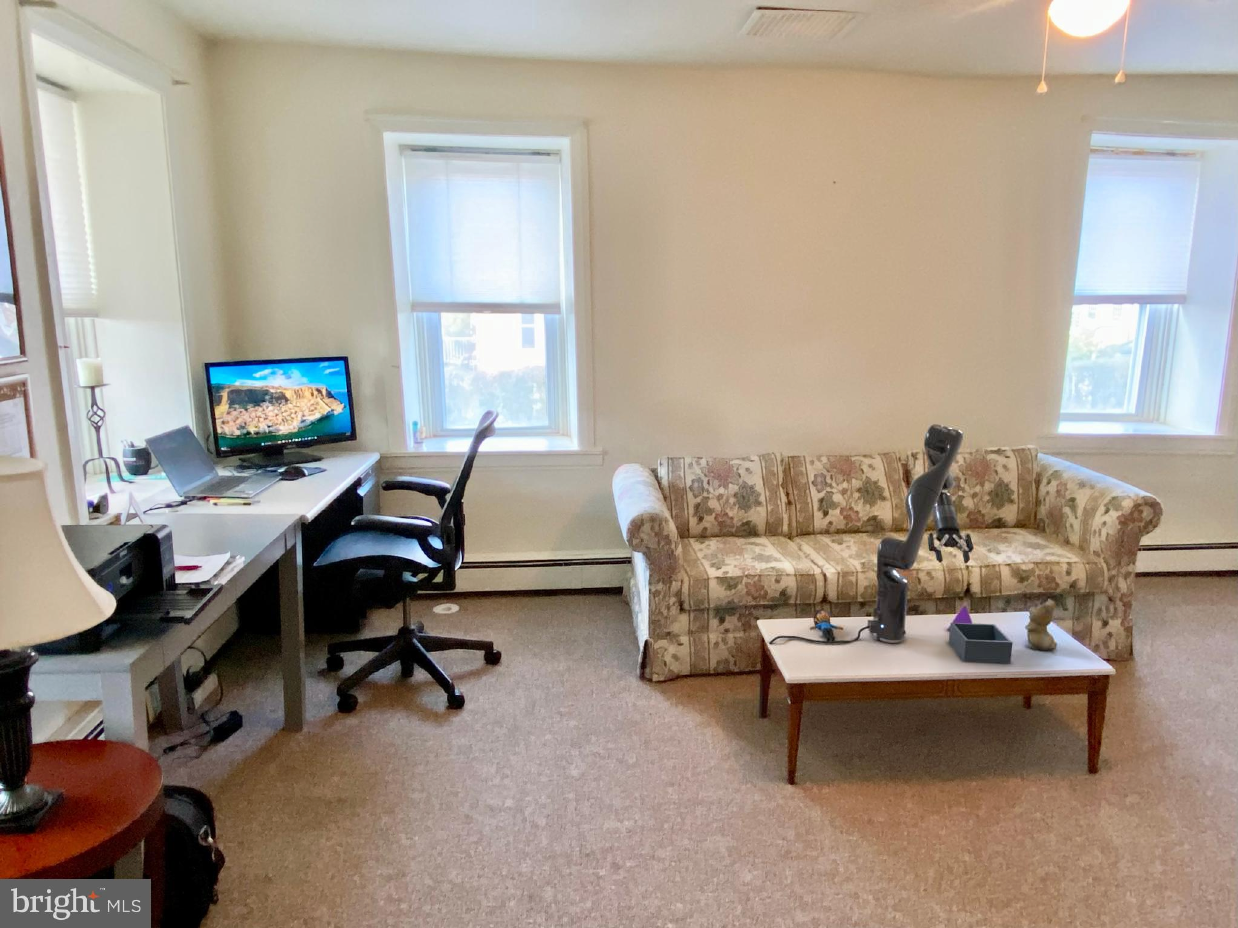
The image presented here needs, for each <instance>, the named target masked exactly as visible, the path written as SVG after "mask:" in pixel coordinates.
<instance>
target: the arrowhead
mask: <svg viewBox="0 0 1238 928" xmlns="http://www.w3.org/2000/svg"><path fill="white" fill-rule="evenodd" d="M968 609H969V608H968V607H967V605H966V604H965V605H962V607H961V608H960V610H959V612H958V613H957V615H956V616H955V618H953V620H952V622H951V623H973V620H972V618H971V616H970V612H969V610H968ZM946 630H947V631H950V625H949V626H948V627H947V629H946Z"/></svg>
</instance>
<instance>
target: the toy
mask: <svg viewBox="0 0 1238 928" xmlns="http://www.w3.org/2000/svg"><path fill="white" fill-rule="evenodd" d="M812 619H813V624H814V625H813V626H809V631H813V630H817V629H818V630H821V634H822V636H823V637H824V638H825V641H836V636H835V634H834V630H833V629H835V630H838V631H844V627H843V626H840V625H834V624H832V623H831V616H830V614H829V612H828V611H827V610H825V609H816V610H815V611H814V613H813V618H812ZM830 639H831V640H830Z"/></svg>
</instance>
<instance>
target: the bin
mask: <svg viewBox="0 0 1238 928" xmlns="http://www.w3.org/2000/svg"><path fill="white" fill-rule="evenodd" d="M949 626H950V630H949V633H948V634H949V635H948V643H949V645H950V646H951V647H952V649H953V650H954V651H955V652H956V654H957V655H958V656H959V657H960V659H961V660H962V661H963V662H969V663H970V662H972V663H993V664H1011V662H1012V653H1013V641H1012V640H1011V639H1010V638H1009V637H1008V636H1007V635H1006V634H1005V633H1004V632H1003V631H1002V630H1001V629H1000V628H999V627H998V626H997V625H996V624H995V623H973V622H972V623H952V622H950V623H949Z"/></svg>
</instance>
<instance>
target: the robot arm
mask: <svg viewBox="0 0 1238 928" xmlns="http://www.w3.org/2000/svg"><path fill="white" fill-rule="evenodd" d="M963 440H964V433H963V432H962V431H961V430H959V429H956V428H954V427H953V428H952V427H949V426H946V425H941V424H931V425H930V426H929V427H928V429H927V431H926V433H925V435H924V439H923V448H924V453H925V455H926V458H927V462H928V466H927V471H925V472H923V473H922V474H920V475H919V476H917V477H916V478H915V479H914V480H913V481H912V482H911V484H910V486H909V488H908V491H907V493H906V495H905V499H904V507H905V508H904V509H905V512H906V516H907V519H908V526H909V528H908V534H907V536H906V539H905V540H904V539H900V538H896V537H893V536H892V537H891V536H884V537H883V538H882V539H881V540H880V541H879V544H878V546H877V553H876V580H877V586H876V587H877V590H876V602H875V605H873V615H872V616H873V617H872V619H868V620H867V625H866V626H864V627H862V628H860V629H859V630H858V632H857V636H856V637H855V638H854V639H852V640H841V639H840V640H835V641H832V640H829V641H827V640H819V639H811V638H807V637H804V636H803V637H802V636H798V635H778V636H775V637H774V638H772V639H771V640H770V641H769V642H768V644H769V645H772V644H773V643H774V642H775V641H777V640H778V639H796V640H802V641H807V642H810V643H816V644H817V643H818V644H819V643H820V644H849V643H853V642H856V641H858V640H859V639H860V638H861V633H862V632H863V631H865V630H868V632H869V633H870V634H872V636H873V638H874V639H875V641H878V642H882V643H887V644H900V643H903V642H904V641H905V636H906V635H907V632H906V619H907V608H908V607H907V606H908V594H909V580H908V579H907V578H906V577H905V576H904V575H902V574H901V573H900V572H898V570H902V571H910V570H911V569H912V568H913V567H914V565H915V563H916V560H917V558H918V555H919V552H920V548H921V544H922V542H923V537H924V535H925V532H926V529H927V527H928V524H929V522H930V519H931V516H932V518H933V524H934V528H935V533H936V534H934V533H932V532H930V533H929V534H928V536H927V546H928V551H929V552H934V554H935V558H936V561H937V562H938V563H942V562H943V560H944V559H943V554H942V550H941V549H942V548H943V547H945V548H956V549H957V550H958V551H960V552H961V553H962V558H963V563H964V564H968V563H969V562H970V560H971V558H970V557H971V556H970V553H972V552H973V551H974V548H975V547H974V544H973V541H972V537H971V534H970V533H967V534H966V535H962V534H961V532H960V527H959V523H958V518H957V517H958V516H957V513H956V510H955V507H954V502H953V498H952V495H951V493H949V492H945V491H949V490H950V489H952V488H953V487H954V484H955V483H954V482H955V481H954V477H953V475H952V473H951V472H950V470H951V467H952V465H953V463H954V462H955V460H956V457H957V455H958V453H959V451H960V448H961V446H962V444H963ZM935 540H936V541H937V542H939V543H938V545H937V546H935ZM762 706H763V682H759V705H758V719H761V718H762Z"/></svg>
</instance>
